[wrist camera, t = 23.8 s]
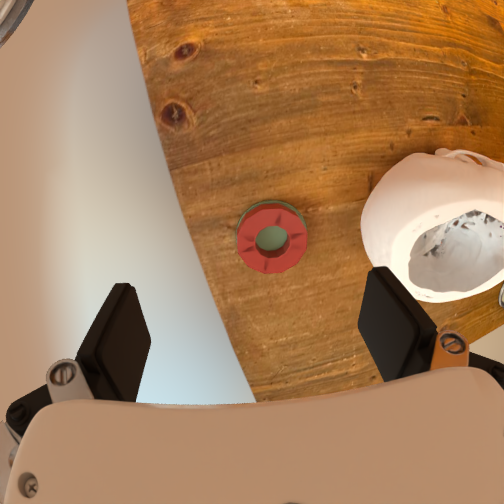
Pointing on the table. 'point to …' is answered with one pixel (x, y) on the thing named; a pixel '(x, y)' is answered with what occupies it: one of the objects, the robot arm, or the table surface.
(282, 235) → the coaster
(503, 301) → the coffee can
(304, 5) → the table surface
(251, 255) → the red ring
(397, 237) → the skull planter
